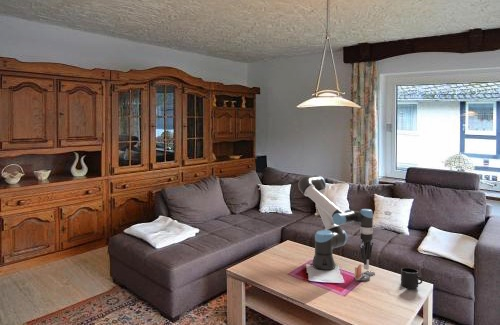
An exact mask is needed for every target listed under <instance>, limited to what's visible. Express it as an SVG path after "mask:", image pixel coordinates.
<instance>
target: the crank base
mask: <svg viewBox="0 0 500 325" xmlns="http://www.w3.org/2000/svg"><path fill="white" fill-rule="evenodd" d="M356 278H357V267H354V281H355V282H369V281H370V280H371V276H368V275H366V277H363V278H362V279H361V280H356Z"/></svg>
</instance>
